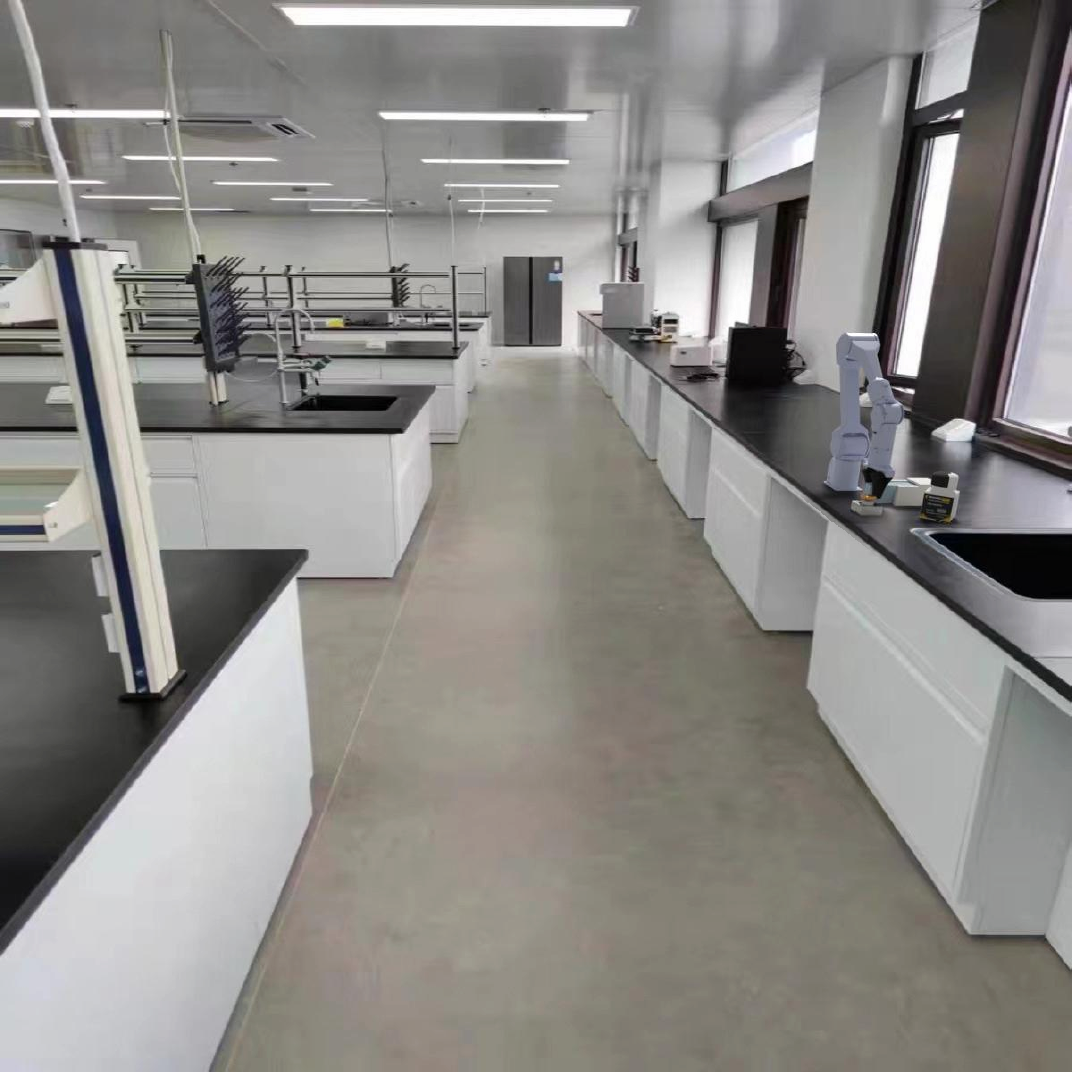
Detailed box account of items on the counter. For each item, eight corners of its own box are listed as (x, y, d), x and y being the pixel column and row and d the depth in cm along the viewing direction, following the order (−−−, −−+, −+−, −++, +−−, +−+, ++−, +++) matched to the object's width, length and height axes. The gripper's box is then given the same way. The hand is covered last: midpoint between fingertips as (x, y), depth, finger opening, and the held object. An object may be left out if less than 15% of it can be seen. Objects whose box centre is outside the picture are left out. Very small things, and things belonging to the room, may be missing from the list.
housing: (881, 498, 214) (885, 477, 212) (923, 498, 215) (927, 477, 213) (894, 506, 207) (898, 484, 205) (937, 506, 208) (942, 484, 206)
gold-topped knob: (856, 508, 202) (858, 493, 201) (870, 508, 202) (872, 494, 201) (862, 512, 198) (864, 497, 197) (876, 512, 198) (879, 498, 197)
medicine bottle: (918, 518, 197) (927, 472, 193) (925, 512, 202) (933, 468, 198) (949, 523, 193) (958, 477, 189) (955, 517, 198) (964, 472, 194)
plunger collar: (850, 509, 203) (852, 500, 202) (871, 509, 203) (872, 500, 202) (860, 515, 198) (861, 506, 197) (881, 516, 198) (882, 506, 197)
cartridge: (862, 499, 212) (865, 482, 210) (921, 499, 213) (924, 482, 211) (868, 503, 208) (871, 485, 207) (929, 503, 209) (932, 486, 207)
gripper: (855, 442, 212) (847, 489, 216) (879, 453, 198) (871, 503, 203) (879, 442, 212) (871, 489, 217) (906, 454, 199) (897, 504, 203)
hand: (873, 496), depth 210 cm, fingers open, 3 cm apart
